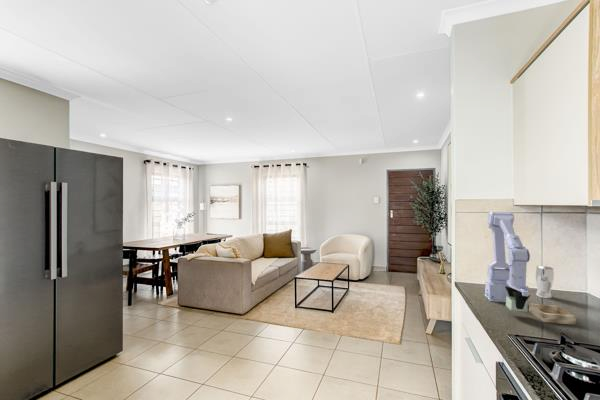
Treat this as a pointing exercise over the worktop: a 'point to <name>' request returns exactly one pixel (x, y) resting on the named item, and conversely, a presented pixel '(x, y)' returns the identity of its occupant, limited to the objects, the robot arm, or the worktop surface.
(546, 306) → the wooden tray
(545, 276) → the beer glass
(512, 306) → the small crate
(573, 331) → the worktop surface
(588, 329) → the worktop surface
